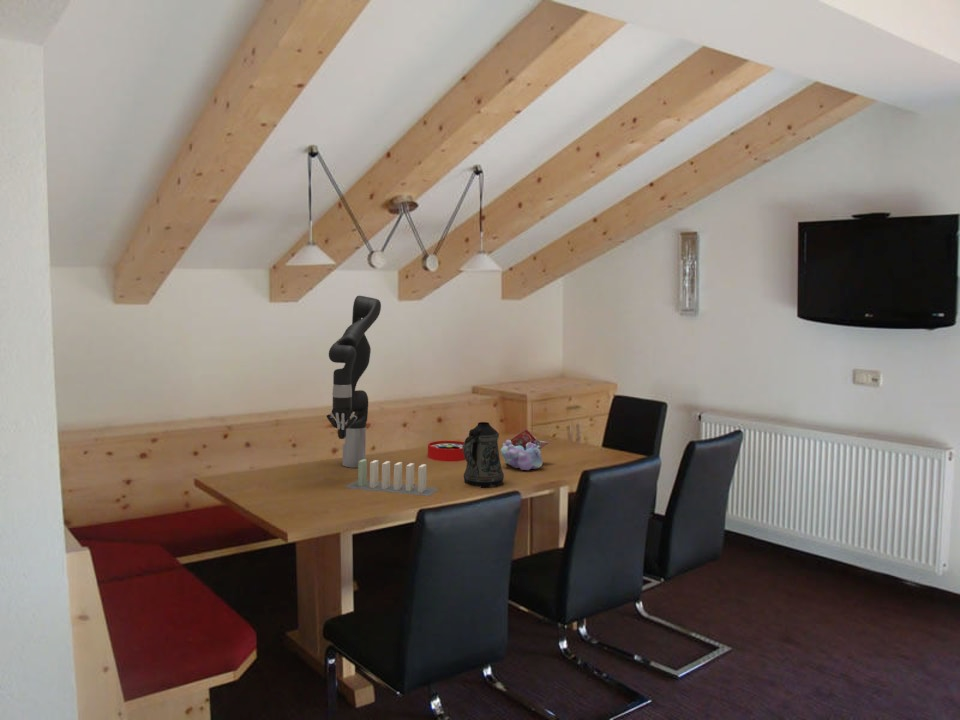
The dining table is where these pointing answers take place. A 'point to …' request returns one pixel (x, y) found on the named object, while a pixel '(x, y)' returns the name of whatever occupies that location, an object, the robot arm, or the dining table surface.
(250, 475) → the dining table surface
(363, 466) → the domino
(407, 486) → the domino
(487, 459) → the beer stein
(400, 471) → the domino
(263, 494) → the dining table surface
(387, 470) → the domino
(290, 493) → the dining table surface
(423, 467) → the domino
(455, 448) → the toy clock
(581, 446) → the dining table surface
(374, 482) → the domino
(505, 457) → the swirly pastel blob
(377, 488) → the mat
